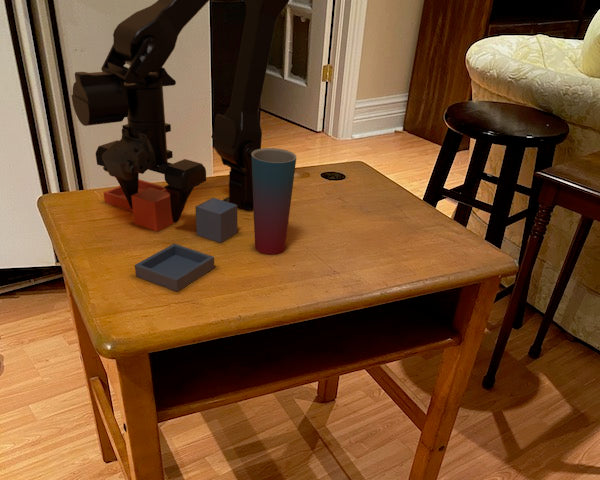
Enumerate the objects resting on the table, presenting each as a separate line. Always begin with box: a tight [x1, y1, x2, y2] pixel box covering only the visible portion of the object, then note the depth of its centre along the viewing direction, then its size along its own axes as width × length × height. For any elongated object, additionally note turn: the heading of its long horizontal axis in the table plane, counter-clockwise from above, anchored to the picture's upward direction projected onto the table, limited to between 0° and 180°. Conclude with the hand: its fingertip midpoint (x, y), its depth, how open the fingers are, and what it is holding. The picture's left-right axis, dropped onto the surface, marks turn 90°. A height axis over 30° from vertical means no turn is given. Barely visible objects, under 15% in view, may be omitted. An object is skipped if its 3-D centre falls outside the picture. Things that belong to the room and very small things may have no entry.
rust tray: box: [103, 178, 169, 212], centre depth 108 cm, size 9×8×2 cm
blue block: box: [195, 197, 238, 244], centre depth 99 cm, size 5×5×5 cm
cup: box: [251, 147, 297, 255], centre depth 93 cm, size 7×7×15 cm
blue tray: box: [134, 243, 215, 293], centre depth 88 cm, size 9×8×2 cm
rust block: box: [131, 187, 175, 232], centre depth 100 cm, size 5×5×5 cm
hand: (154, 215), depth 101 cm, fingers open, 9 cm apart
